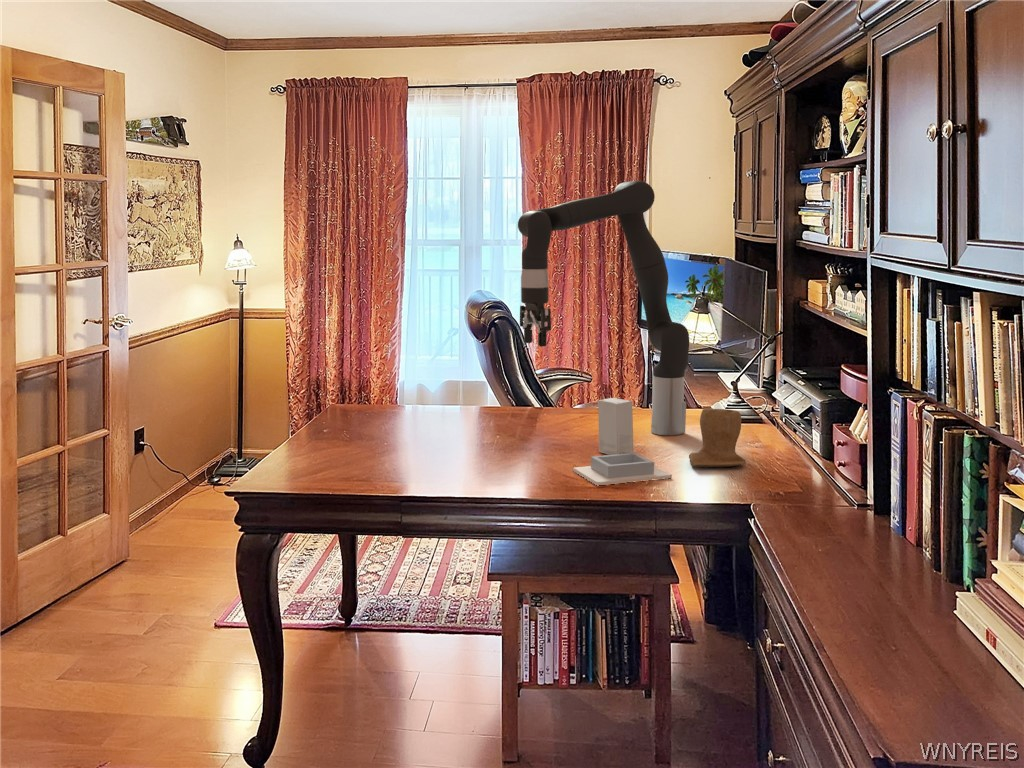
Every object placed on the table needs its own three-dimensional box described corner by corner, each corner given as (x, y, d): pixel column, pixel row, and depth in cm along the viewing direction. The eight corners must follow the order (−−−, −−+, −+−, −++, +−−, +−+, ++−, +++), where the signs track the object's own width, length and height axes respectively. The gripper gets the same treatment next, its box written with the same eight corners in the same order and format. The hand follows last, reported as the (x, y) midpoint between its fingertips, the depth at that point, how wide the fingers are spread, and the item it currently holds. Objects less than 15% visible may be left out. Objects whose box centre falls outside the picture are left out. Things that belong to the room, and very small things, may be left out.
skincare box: (633, 455, 240) (635, 401, 237) (616, 458, 237) (617, 403, 234) (613, 449, 247) (614, 396, 244) (596, 452, 244) (597, 398, 241)
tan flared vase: (734, 458, 237) (736, 403, 235) (751, 470, 226) (754, 412, 223) (678, 460, 235) (680, 404, 233) (692, 471, 224) (695, 413, 221)
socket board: (644, 464, 230) (644, 449, 230) (671, 478, 217) (672, 462, 217) (573, 471, 224) (573, 455, 223) (597, 486, 211) (597, 469, 210)
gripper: (559, 286, 239) (559, 346, 242) (535, 283, 252) (535, 340, 254) (534, 287, 236) (534, 348, 238) (511, 284, 248) (511, 342, 251)
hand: (535, 344), depth 246 cm, fingers open, 8 cm apart
